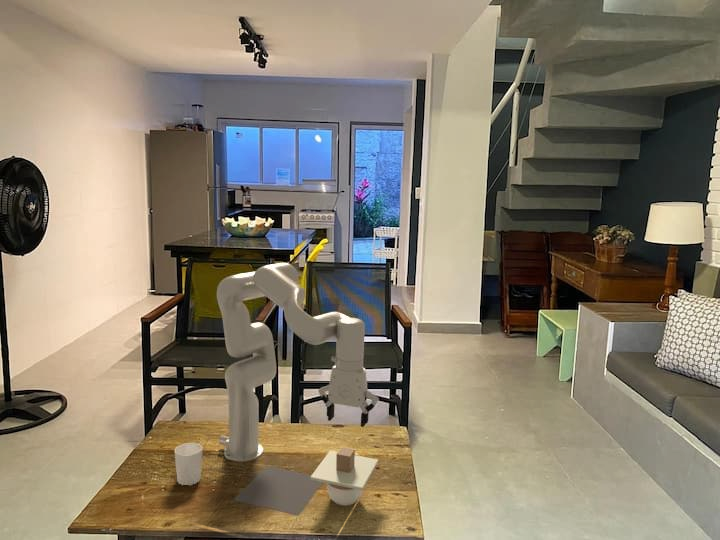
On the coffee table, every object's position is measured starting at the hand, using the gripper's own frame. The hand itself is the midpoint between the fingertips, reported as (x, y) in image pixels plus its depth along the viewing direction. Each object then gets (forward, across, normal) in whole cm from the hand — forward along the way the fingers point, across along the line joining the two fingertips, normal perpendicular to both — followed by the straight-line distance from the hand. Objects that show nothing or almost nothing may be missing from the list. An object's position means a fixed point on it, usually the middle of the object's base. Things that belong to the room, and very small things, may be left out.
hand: (347, 421), depth 157 cm
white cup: (+24, -47, -7) cm, 53 cm away
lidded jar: (+24, 0, 0) cm, 24 cm away
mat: (+24, -19, -2) cm, 31 cm away
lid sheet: (+15, 0, 0) cm, 15 cm away
